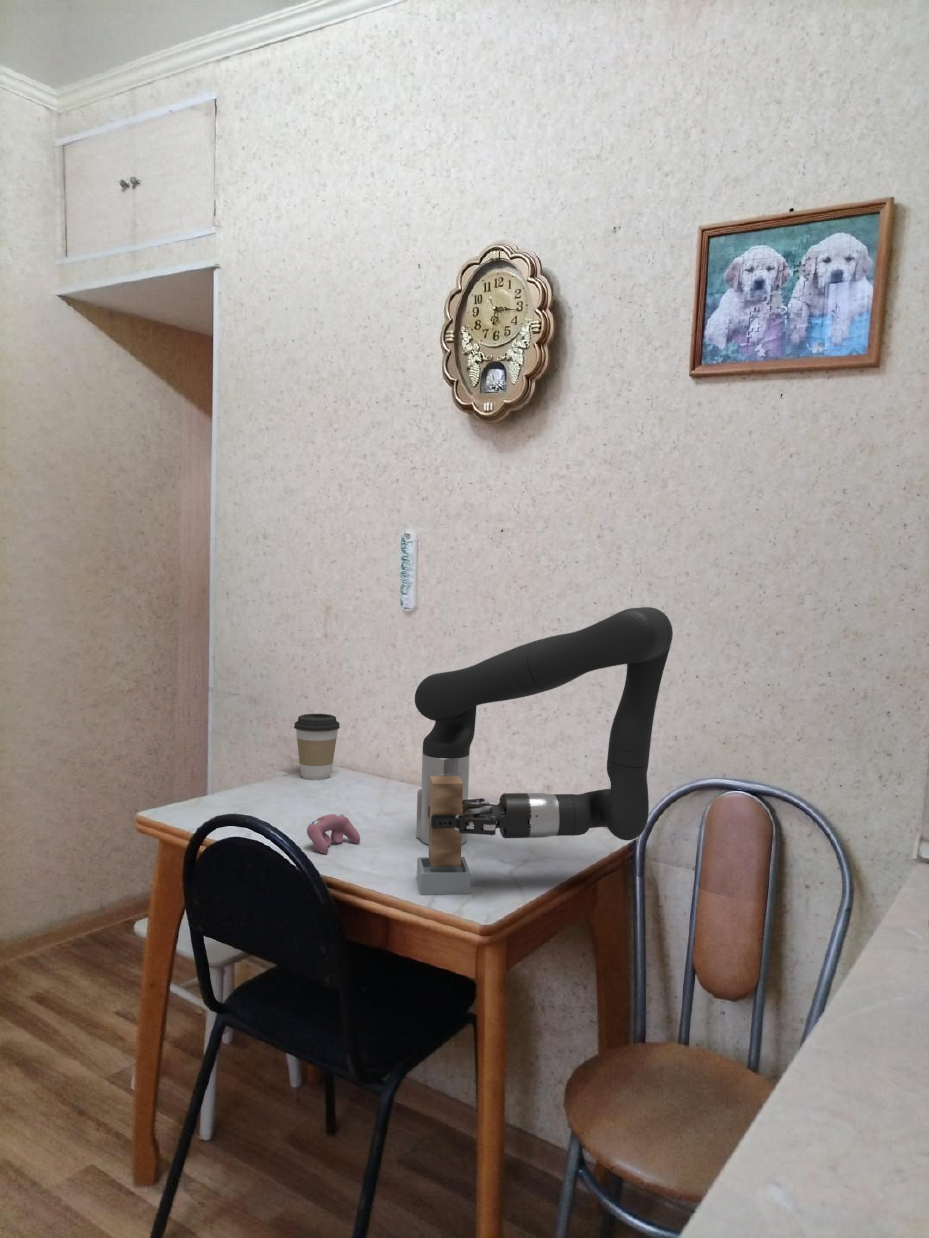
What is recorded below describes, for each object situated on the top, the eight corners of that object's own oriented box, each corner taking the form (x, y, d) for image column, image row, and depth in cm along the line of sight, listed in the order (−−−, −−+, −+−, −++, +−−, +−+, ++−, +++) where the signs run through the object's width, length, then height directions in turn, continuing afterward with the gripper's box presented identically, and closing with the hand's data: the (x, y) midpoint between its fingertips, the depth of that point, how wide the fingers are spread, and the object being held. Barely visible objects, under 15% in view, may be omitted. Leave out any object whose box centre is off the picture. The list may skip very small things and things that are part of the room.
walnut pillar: (431, 866, 150) (432, 783, 149) (428, 856, 155) (430, 776, 154) (461, 865, 151) (462, 783, 150) (457, 856, 156) (459, 776, 155)
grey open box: (420, 894, 149) (421, 873, 148) (416, 876, 157) (417, 857, 157) (469, 893, 150) (470, 873, 150) (463, 876, 158) (464, 856, 158)
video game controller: (348, 847, 176) (338, 812, 178) (363, 841, 174) (353, 806, 175) (310, 859, 169) (299, 823, 170) (325, 853, 166) (314, 816, 168)
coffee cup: (345, 772, 229) (346, 714, 228) (330, 783, 218) (331, 722, 217) (302, 769, 231) (303, 711, 230) (285, 779, 220) (286, 719, 219)
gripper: (521, 783, 161) (426, 784, 159) (538, 805, 147) (434, 806, 145) (520, 824, 162) (425, 826, 159) (536, 850, 147) (433, 852, 145)
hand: (430, 816), depth 152 cm, fingers closed on walnut pillar, 5 cm apart
